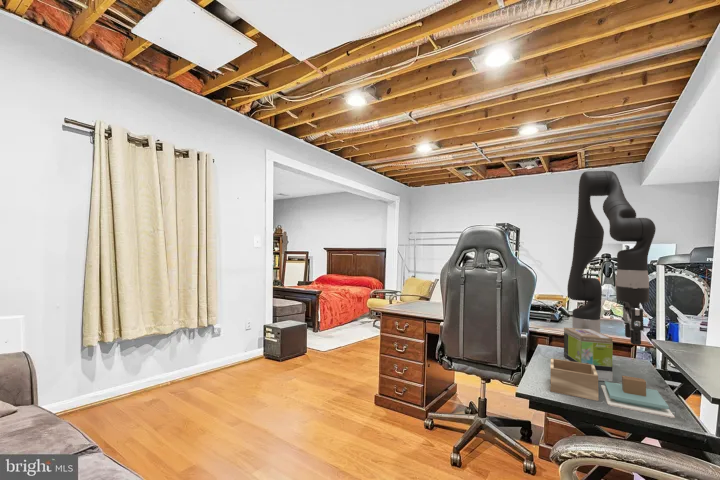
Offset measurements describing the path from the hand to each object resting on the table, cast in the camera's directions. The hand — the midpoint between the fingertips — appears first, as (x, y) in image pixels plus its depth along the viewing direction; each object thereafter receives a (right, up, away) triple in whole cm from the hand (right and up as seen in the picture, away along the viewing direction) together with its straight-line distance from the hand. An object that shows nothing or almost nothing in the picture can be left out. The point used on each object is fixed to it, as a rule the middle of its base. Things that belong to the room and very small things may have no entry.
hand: (632, 340), depth 97 cm
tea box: (+1, -18, +21) cm, 28 cm away
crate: (-13, -17, +7) cm, 23 cm away
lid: (0, -17, -1) cm, 17 cm away
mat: (0, -17, -1) cm, 17 cm away
